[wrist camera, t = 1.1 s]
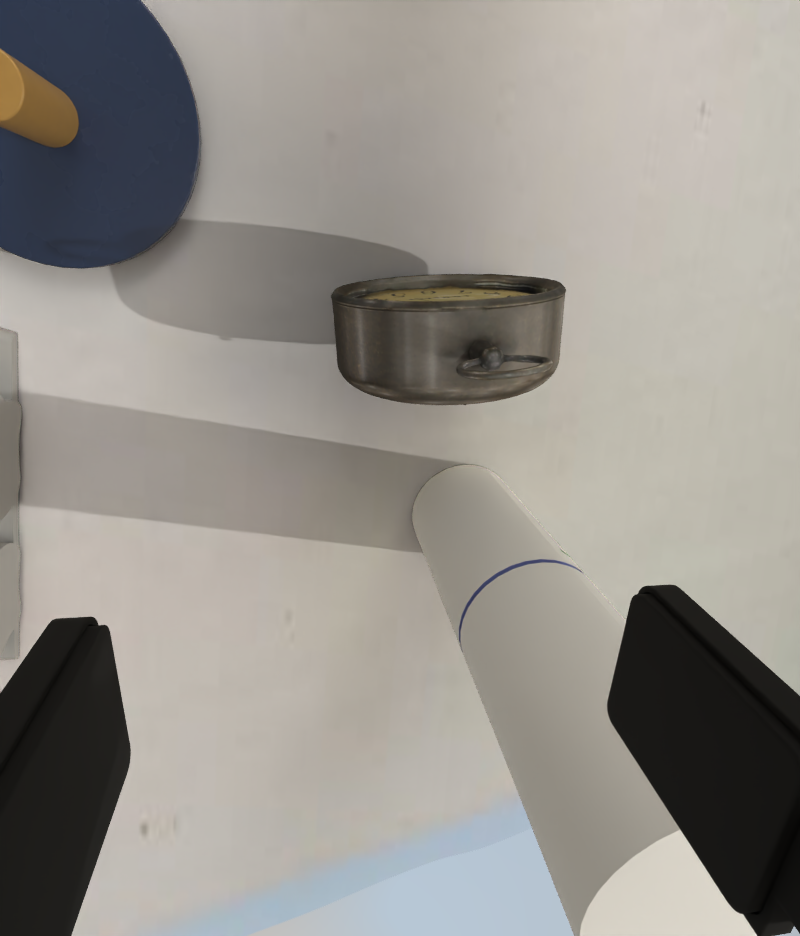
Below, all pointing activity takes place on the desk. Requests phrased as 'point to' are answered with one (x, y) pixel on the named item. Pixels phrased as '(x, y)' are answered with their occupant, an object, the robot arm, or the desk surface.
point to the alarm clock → (448, 336)
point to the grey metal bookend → (9, 496)
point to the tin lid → (91, 131)
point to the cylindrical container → (561, 713)
